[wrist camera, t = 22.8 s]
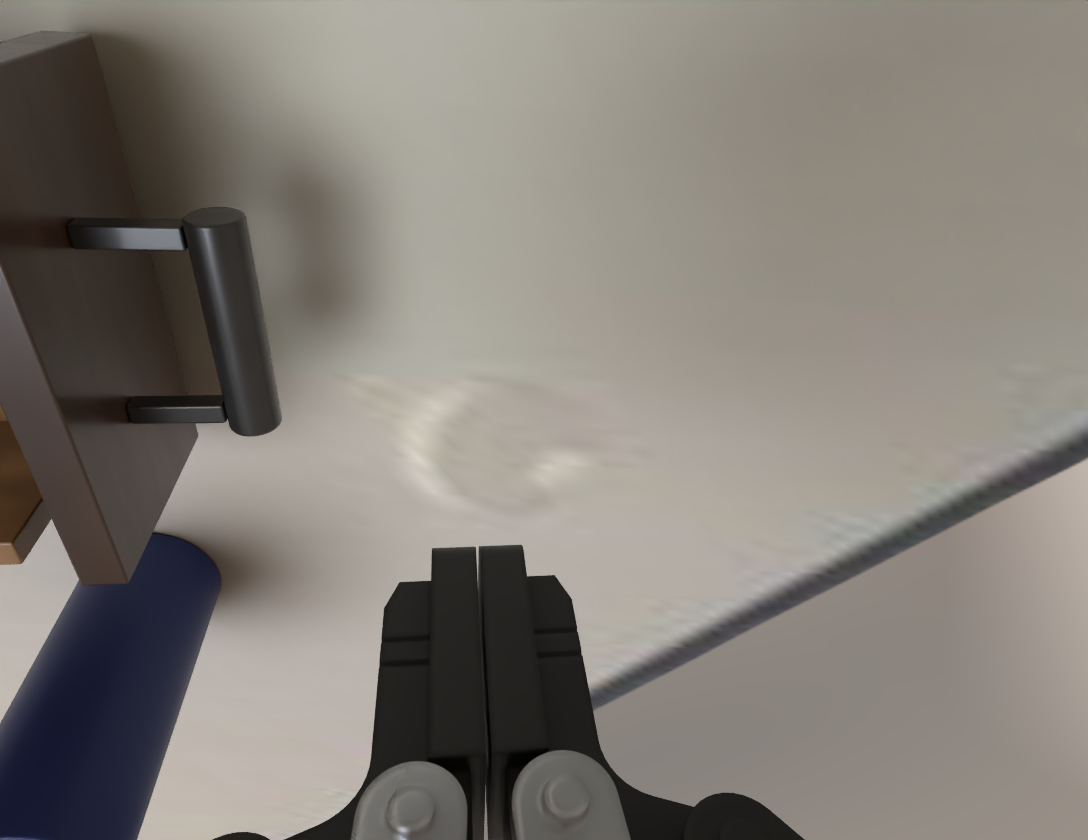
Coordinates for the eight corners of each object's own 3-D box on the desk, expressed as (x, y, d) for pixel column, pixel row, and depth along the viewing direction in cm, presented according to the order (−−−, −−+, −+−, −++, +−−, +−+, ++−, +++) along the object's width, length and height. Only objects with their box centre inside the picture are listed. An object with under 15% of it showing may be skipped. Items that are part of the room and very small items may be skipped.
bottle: (64, 546, 28) (-195, 976, 17) (189, 521, 28) (13, 934, 17) (128, 625, 31) (-55, 1037, 19) (241, 603, 31) (123, 1001, 19)
